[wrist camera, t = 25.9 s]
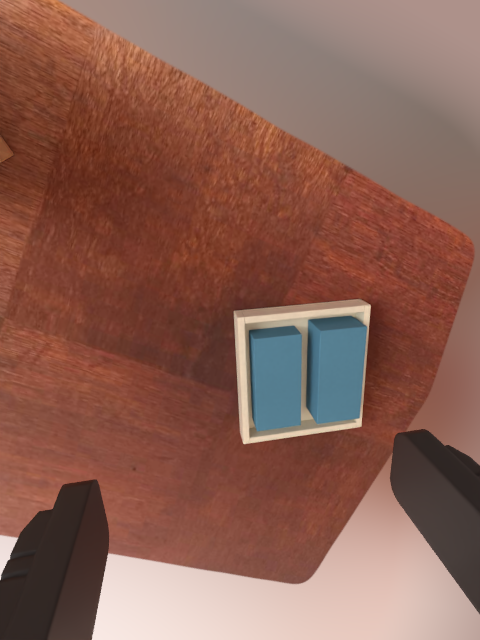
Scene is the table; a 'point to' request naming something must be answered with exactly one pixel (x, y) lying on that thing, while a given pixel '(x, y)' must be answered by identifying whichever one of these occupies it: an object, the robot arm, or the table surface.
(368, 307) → the cream tray
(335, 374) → the blue rectangular block
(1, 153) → the tan wooden block
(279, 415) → the blue brick
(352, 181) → the table surface
